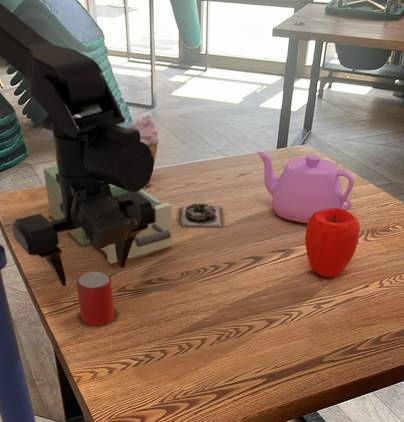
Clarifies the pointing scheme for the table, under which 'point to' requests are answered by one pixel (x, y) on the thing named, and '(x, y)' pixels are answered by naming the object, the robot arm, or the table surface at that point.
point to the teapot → (306, 187)
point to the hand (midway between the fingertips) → (93, 275)
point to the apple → (331, 241)
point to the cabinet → (56, 200)
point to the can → (95, 298)
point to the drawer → (147, 230)
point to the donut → (200, 215)
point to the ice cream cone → (147, 135)
